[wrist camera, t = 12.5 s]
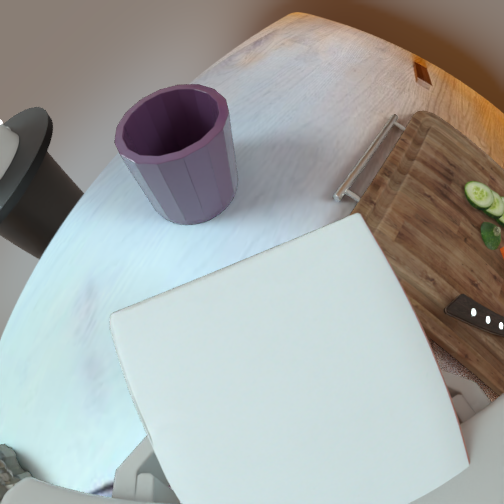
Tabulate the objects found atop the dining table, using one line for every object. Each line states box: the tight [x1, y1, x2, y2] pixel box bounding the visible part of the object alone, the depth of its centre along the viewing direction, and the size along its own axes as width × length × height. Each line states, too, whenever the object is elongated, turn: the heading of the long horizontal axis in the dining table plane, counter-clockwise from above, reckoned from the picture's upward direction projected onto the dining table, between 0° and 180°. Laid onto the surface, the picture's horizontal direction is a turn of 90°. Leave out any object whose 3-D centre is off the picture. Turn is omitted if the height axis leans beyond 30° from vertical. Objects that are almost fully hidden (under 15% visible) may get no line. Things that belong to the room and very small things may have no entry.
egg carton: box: [0, 444, 33, 504], centre depth 13 cm, size 11×8×4 cm
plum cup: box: [115, 84, 238, 225], centre depth 23 cm, size 9×9×9 cm
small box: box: [109, 213, 470, 504], centre depth 10 cm, size 8×6×13 cm
